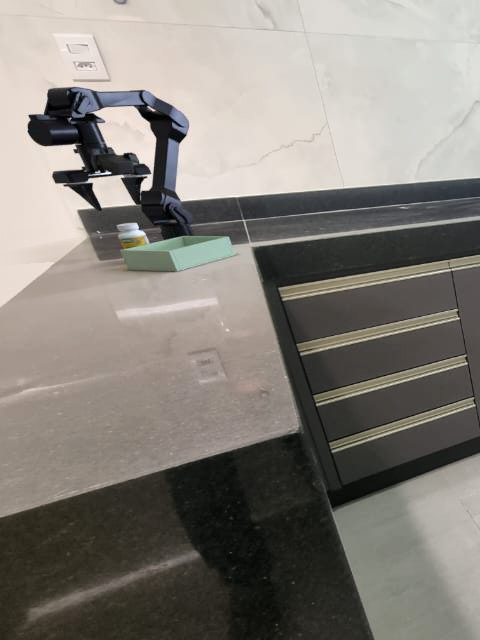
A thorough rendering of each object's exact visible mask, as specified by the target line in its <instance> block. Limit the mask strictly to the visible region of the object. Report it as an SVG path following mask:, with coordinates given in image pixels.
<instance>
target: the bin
mask: <svg viewBox="0 0 480 640" xmlns="http://www.w3.org/2000/svg"><path fill="white" fill-rule="evenodd" d="M149 243H150V244H146V245H141V246H137V247H132V248H128V249H124V248H123V249H120V250H119V252H120V254H121V256H122V258H123V260H124V263H125V265H126V266H127V269H128V270H129V271H151V272H153V271H155V272H156V271H157V272H158V271H159V272H181V271H183V270H188V269H191V268H195V267H198V266H202V265H205V264H209V263H212V262H216V261H219V260H222V259H226V258H230V257H234V256H236V252H235V250H234V247H233V244H232V242H231V239H230V237H229V236H215V235H214V236H209V235H208V236H207V235H205V236H204V235H199V236H198V235H195V236H181V237H177V238H172V239H168V240H164V239H162V240H160V241H155V242H149Z"/></svg>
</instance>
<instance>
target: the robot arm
mask: <svg viewBox="0 0 480 640" xmlns="http://www.w3.org/2000/svg"><path fill="white" fill-rule="evenodd" d="M46 98H47V99H46V104H45V107H44V111H43V114H42V113H35V114H34V113H33V114H32V113H31V114H28V115H27V117H28V118H29V121H28V122H27V134H28V135H29V137H30V139H31V140H32V141H33V142H34V143H36V144H37V145H39V146H41V147H58V146H59V147H60V146H72V145H74V146H75V148H73V150H72V151H73V152H74V154H78V155H79V157H80V159H81V161H82V163H83V166H81V169H66V170H65V169H64V170H55V171H53V172H52V175H51V177H52V179H53V182H54V183H55V184H58V185H59V184H61V185H62V186H63V187H64V188H67V187H68V188H69V189H70V190H72V191H73V192H74V193H76V194H77V195H78V196H80V197H81V198H82V199H83V200H85V201H86V202H87V203H88V204H89V205H90V206H91V207H93V209H94V210H96V212H102V211H103V208H102V205H101V203H100V201H99V200H98V198H97V195H96V194H95V192H94V189H93V188H94V183H93V182H88V181H89V180H90V179H98V178H107V177H116V176H123V177H120V180H121V182H122V184H123V186H124V188H125V189H126V191H127V193H128V194H129V196H130V198H131V200H132V201H133V203H134V204H135V206H140V208H141V209H140V210H141V212H142V214H143V215H144V216H145V217H146V218H147V220H149V221H150V223H151V224H152V225H153V226H154V227H157V226H159V228H160V230H161V231H160V235H161V237H162V240H168V239H172V238H177V237H181V236H196V235H195V233H194V230H193V228H192V225H191V224H192V223H195V218H194V217H195V215H194V214H193V213H191V212H190V211H189V210H187V209H186V208H184V207H182V199H181V198H180V197H179V195H178V194H177V192H176V189H177V188H176V187H177V175H178V163H179V152H180V145H181V143H182V141H184V140H185V138H187V136H188V132H189V128H190V121H189V119H188V118H187V116H186V115H185V114H184V112H182V111H181V110H179V109H178V108H176V107H175V106H174V105H172V104H171V103H169V102H167V101H164V100H163V99H161V98H158V97H157V96H155V95H154V94H153V93H152V92H150V91H149V90H146V89H137V90H136V89H132V90H119V91H118V90H117V91H116V90H115V91H113V90H112V91H111V90H110V91H99V90H95V89H94V90H93V89H90V88H85V87H79V86H65V87H64V86H63V87H51V88H49V89H47V93H46ZM118 107H119V108H121V107H123V108H124V107H134V108H135V109H136V110H137V112H138V113H139V115H140V117H141V118H142V119H144V120H145V121H146V122H148V123H149V129H150V131H151V132H152V134H153V135H154V137H155V147H154V148H155V149H154V160H153V171H151V170H150V167H149V166H148V165H147V164H145V163H140V159H139V158H138V155H137V154H136V153H135V152H123V154H117V153H116V152H115V149H114V148H113V147H112V146H108V144H107V143H106V140H105V137H104V136H103V134H102V131H101V129H100V127H99V125H98V124H105V123H106V120H105V119H104V118H102V117H100V116H98V115H97V114H95V113H94V112H99V111H101V110H102V109H106V108H118ZM153 110H154V111H153ZM152 172H153V173H152ZM148 175H152V182H151V187H150V188H149V190H141V188H142V183H143V182H144V180H145V179H148Z"/></svg>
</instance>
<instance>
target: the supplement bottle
mask: <svg viewBox="0 0 480 640" xmlns="http://www.w3.org/2000/svg"><path fill="white" fill-rule="evenodd" d="M116 228H117V230H118V231H119V232H120V233H118V234H117V238H118V240H119V243H120V244H121V246H122V248H123V250H124V249H128V248H132V247H137V246H141V245H146V244H150V243H151V242H150V241H149V239H148V237H147V234H146V232H145V231H143V230H139V229H140V227H139V225H138V223H137V222H126V223H120V224H116Z"/></svg>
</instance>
